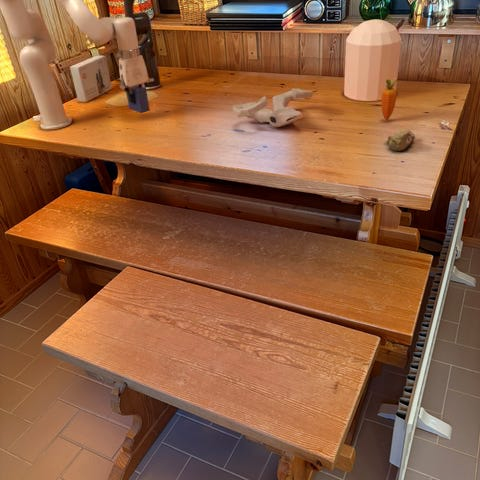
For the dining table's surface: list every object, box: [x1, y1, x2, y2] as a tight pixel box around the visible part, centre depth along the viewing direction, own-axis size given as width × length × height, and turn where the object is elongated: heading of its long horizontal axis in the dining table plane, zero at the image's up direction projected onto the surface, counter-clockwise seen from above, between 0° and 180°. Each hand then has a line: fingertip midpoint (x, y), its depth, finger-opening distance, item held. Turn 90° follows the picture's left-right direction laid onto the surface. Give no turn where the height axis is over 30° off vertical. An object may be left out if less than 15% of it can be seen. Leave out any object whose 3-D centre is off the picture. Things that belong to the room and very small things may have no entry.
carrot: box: [380, 78, 398, 122], centre depth 161 cm, size 5×5×15 cm
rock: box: [387, 129, 416, 152], centre depth 146 cm, size 11×6×10 cm
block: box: [125, 85, 151, 114], centre depth 185 cm, size 4×9×9 cm, turn 44°
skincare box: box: [69, 54, 113, 103], centre depth 218 cm, size 21×6×16 cm, turn 158°
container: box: [343, 18, 402, 102], centre depth 184 cm, size 21×21×28 cm
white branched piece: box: [231, 88, 314, 128], centre depth 171 cm, size 28×26×12 cm
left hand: (138, 100), depth 186 cm, fingers closed on block, 4 cm apart
